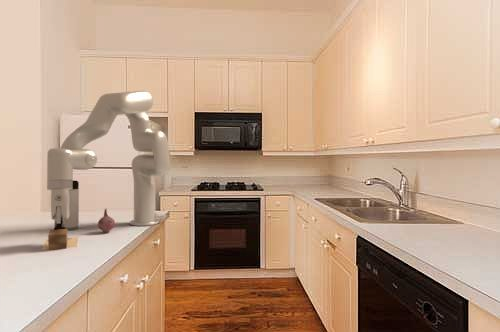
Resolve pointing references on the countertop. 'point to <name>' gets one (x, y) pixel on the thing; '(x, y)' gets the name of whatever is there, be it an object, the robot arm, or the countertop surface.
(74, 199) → the travel mug
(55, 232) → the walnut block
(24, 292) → the countertop surface
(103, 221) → the vegetable
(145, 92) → the robot arm
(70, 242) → the letter
